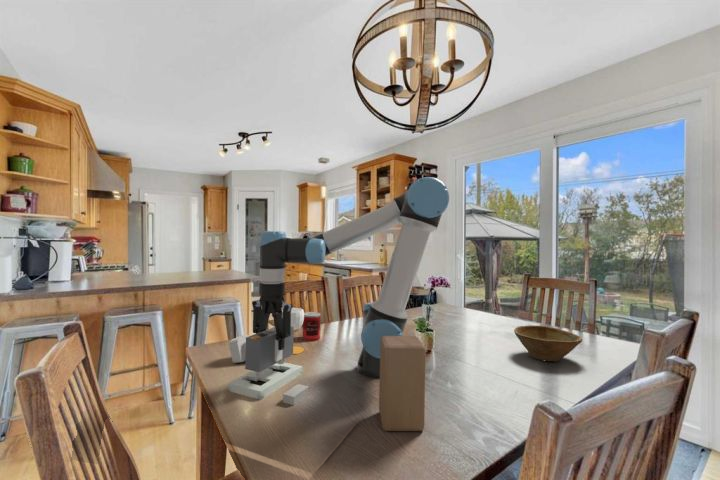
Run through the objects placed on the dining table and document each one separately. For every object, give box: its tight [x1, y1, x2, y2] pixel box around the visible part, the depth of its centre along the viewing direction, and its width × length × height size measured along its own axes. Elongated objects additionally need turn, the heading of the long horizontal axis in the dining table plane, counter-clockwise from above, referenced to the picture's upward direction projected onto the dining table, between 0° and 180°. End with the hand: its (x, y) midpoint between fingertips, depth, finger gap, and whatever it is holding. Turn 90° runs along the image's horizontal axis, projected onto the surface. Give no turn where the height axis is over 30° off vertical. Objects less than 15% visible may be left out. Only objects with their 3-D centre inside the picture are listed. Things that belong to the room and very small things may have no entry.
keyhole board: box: [227, 362, 304, 401], centre depth 103 cm, size 12×20×3 cm, turn 156°
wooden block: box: [378, 335, 427, 432], centre depth 83 cm, size 10×10×20 cm
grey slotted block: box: [244, 326, 295, 376], centre depth 102 cm, size 5×16×12 cm, turn 156°
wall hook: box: [228, 334, 250, 364], centre depth 121 cm, size 8×10×10 cm
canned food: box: [302, 311, 321, 342], centre depth 149 cm, size 8×8×11 cm
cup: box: [282, 307, 305, 356], centre depth 133 cm, size 9×9×16 cm
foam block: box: [282, 383, 310, 406], centre depth 93 cm, size 4×7×3 cm, turn 156°
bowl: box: [513, 324, 583, 362], centre depth 129 cm, size 22×23×10 cm
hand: (270, 358), depth 103 cm, fingers closed on grey slotted block, 5 cm apart
